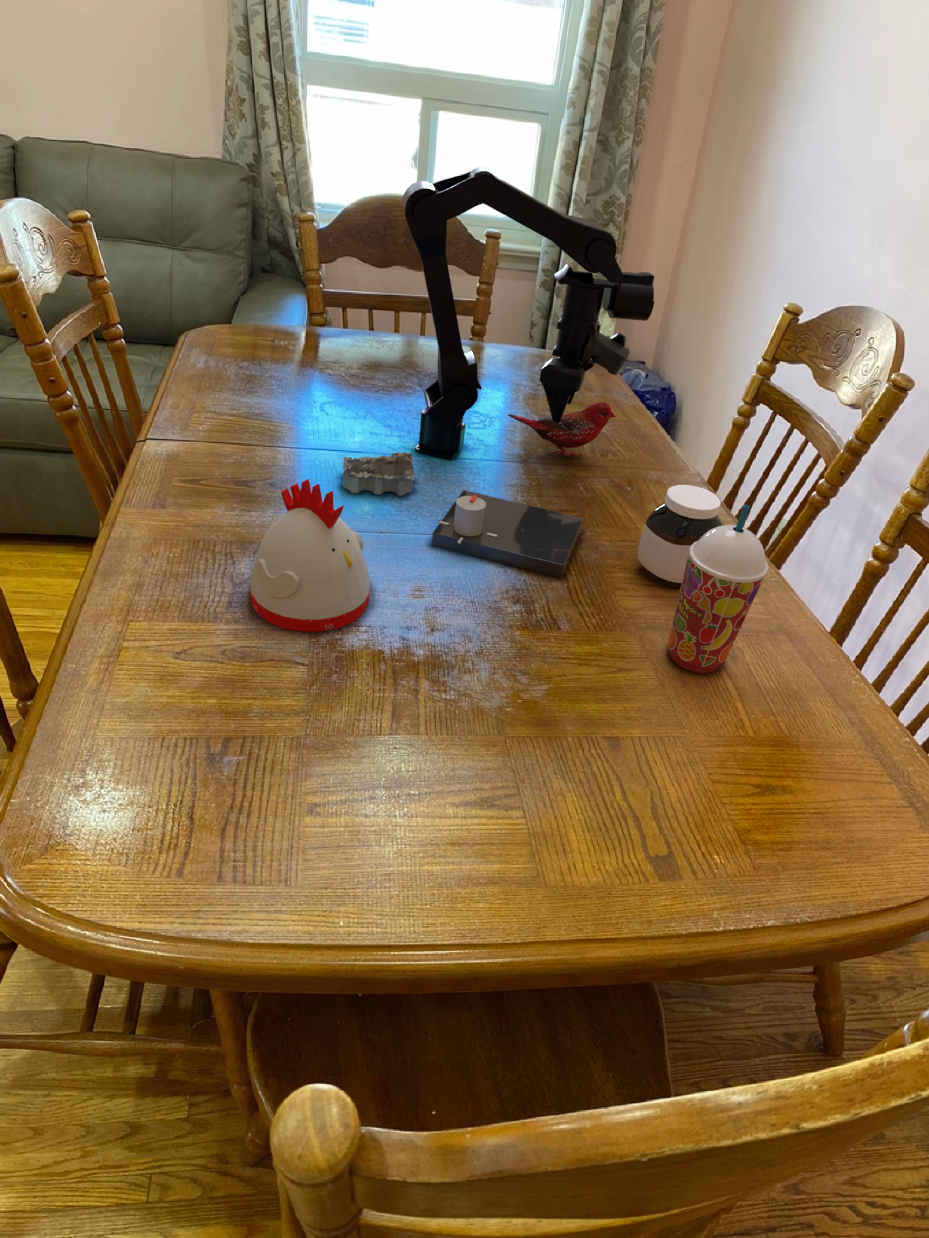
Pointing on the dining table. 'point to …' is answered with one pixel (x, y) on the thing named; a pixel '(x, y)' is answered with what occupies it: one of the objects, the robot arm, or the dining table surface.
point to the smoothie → (716, 595)
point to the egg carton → (379, 473)
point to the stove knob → (469, 515)
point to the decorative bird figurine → (571, 427)
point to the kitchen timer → (310, 566)
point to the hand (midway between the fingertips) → (562, 412)
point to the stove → (515, 536)
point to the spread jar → (676, 532)
